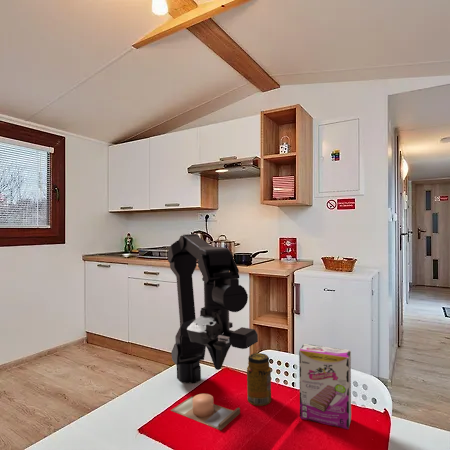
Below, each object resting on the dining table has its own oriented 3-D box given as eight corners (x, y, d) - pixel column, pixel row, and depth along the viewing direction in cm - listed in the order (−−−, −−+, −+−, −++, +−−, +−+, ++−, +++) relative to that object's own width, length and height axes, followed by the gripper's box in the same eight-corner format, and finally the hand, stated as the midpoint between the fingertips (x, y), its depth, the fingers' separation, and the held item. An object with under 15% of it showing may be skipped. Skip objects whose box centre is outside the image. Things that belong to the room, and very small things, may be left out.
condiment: (259, 393, 93) (258, 349, 93) (283, 406, 87) (282, 358, 87) (239, 403, 89) (238, 356, 88) (263, 417, 82) (262, 366, 82)
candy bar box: (299, 420, 80) (297, 349, 80) (303, 409, 85) (302, 342, 85) (350, 431, 76) (348, 356, 76) (352, 419, 80) (350, 349, 80)
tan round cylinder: (188, 412, 83) (188, 400, 83) (201, 403, 87) (201, 391, 87) (205, 419, 80) (204, 406, 80) (217, 409, 84) (217, 397, 84)
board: (170, 413, 84) (170, 405, 84) (191, 399, 91) (191, 391, 91) (220, 433, 76) (220, 424, 76) (240, 416, 82) (239, 408, 82)
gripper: (163, 305, 79) (164, 372, 79) (230, 316, 69) (232, 394, 69) (194, 296, 88) (195, 356, 89) (258, 304, 78) (259, 373, 78)
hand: (218, 369), depth 81 cm, fingers closed
